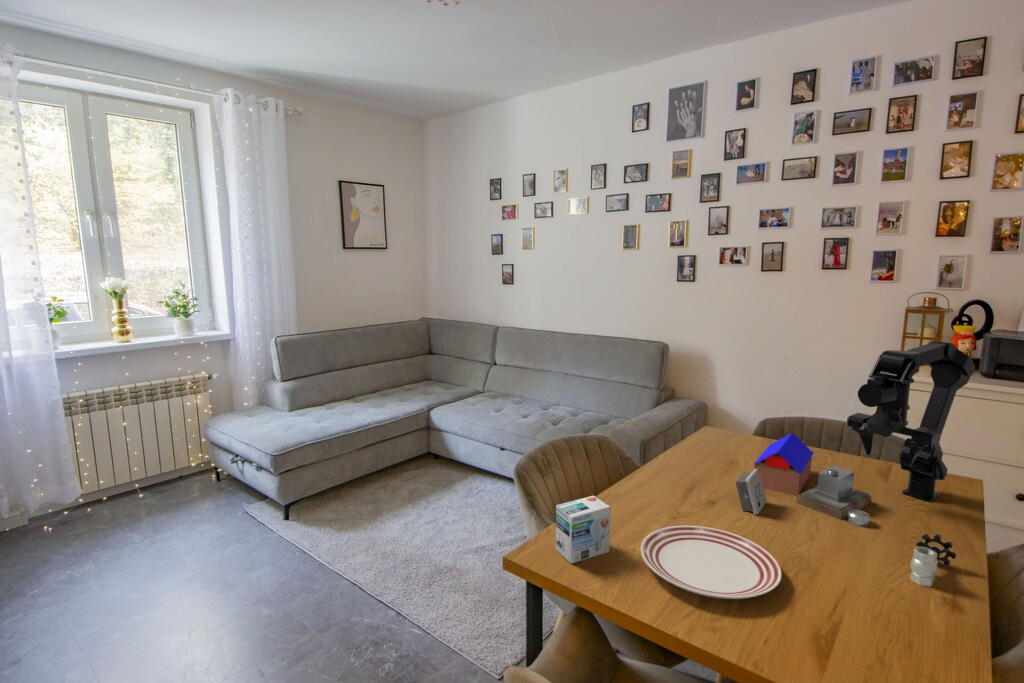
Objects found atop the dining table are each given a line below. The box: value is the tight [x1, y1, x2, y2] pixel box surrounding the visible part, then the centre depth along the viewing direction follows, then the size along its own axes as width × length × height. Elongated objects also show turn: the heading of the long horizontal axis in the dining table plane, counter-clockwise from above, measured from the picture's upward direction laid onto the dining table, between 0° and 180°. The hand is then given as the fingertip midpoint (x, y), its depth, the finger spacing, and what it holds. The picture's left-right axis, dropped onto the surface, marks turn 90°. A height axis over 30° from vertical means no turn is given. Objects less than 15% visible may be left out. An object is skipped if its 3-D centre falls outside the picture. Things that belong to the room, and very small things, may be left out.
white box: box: [555, 495, 612, 564], centre depth 116 cm, size 11×7×11 cm, turn 117°
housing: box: [814, 465, 857, 502], centre depth 137 cm, size 9×6×7 cm, turn 123°
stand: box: [796, 485, 872, 520], centre depth 138 cm, size 16×11×2 cm
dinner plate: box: [640, 525, 782, 600], centre depth 109 cm, size 28×27×3 cm
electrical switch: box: [735, 468, 767, 516], centre depth 136 cm, size 9×5×9 cm, turn 141°
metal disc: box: [847, 509, 871, 528], centre depth 128 cm, size 4×4×2 cm
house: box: [753, 432, 814, 497], centre depth 152 cm, size 12×20×12 cm, turn 142°
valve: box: [909, 533, 958, 588], centre depth 106 cm, size 7×7×12 cm
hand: (888, 460), depth 133 cm, fingers open, 9 cm apart
